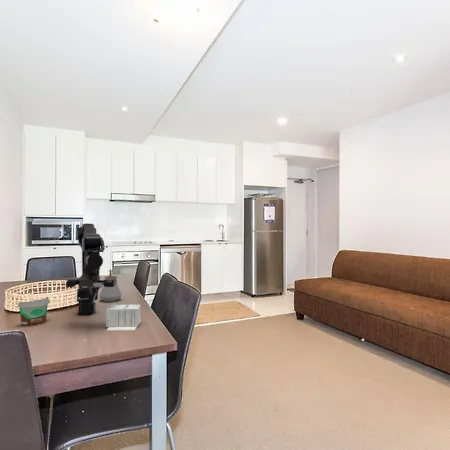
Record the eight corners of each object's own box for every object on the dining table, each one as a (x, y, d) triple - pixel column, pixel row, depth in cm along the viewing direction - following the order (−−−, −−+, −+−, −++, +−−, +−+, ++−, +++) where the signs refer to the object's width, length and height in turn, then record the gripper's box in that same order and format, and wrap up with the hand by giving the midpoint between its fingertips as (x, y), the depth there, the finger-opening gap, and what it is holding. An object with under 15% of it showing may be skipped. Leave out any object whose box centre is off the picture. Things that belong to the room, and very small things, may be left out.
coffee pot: (121, 302, 173) (122, 274, 173) (98, 303, 169) (99, 275, 169) (120, 293, 193) (120, 268, 193) (100, 295, 189) (100, 269, 189)
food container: (25, 329, 128) (25, 304, 128) (17, 326, 132) (17, 301, 131) (55, 321, 139) (55, 298, 139) (47, 318, 142) (47, 296, 142)
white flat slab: (106, 331, 127) (106, 329, 127) (115, 321, 140) (115, 319, 140) (134, 330, 128) (134, 329, 128) (141, 320, 141) (141, 319, 141)
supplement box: (110, 304, 137) (140, 304, 139) (109, 321, 137) (140, 321, 138) (106, 308, 130) (138, 308, 131) (105, 327, 130) (137, 326, 131)
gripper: (60, 268, 124) (59, 308, 124) (110, 268, 125) (109, 308, 126) (71, 264, 135) (71, 301, 135) (117, 264, 137) (116, 301, 137)
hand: (91, 303), depth 133 cm, fingers closed
